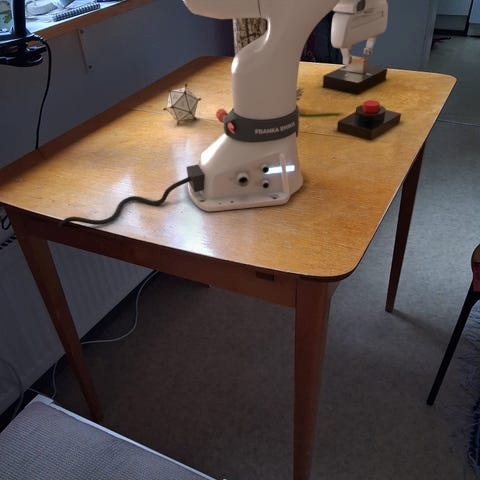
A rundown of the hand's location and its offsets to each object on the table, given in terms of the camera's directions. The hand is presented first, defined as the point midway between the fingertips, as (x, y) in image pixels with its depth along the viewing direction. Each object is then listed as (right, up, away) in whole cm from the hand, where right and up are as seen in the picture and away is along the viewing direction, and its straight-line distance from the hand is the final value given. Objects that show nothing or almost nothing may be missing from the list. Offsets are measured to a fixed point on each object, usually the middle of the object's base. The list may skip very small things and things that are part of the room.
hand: (357, 59), depth 127 cm
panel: (0, -4, +5) cm, 6 cm away
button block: (-2, -25, -17) cm, 30 cm away
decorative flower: (-14, -17, -8) cm, 24 cm away
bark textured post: (-28, -23, -12) cm, 38 cm away
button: (-2, -22, -19) cm, 29 cm away
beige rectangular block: (0, -2, +2) cm, 3 cm away
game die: (-45, -20, -7) cm, 50 cm away
